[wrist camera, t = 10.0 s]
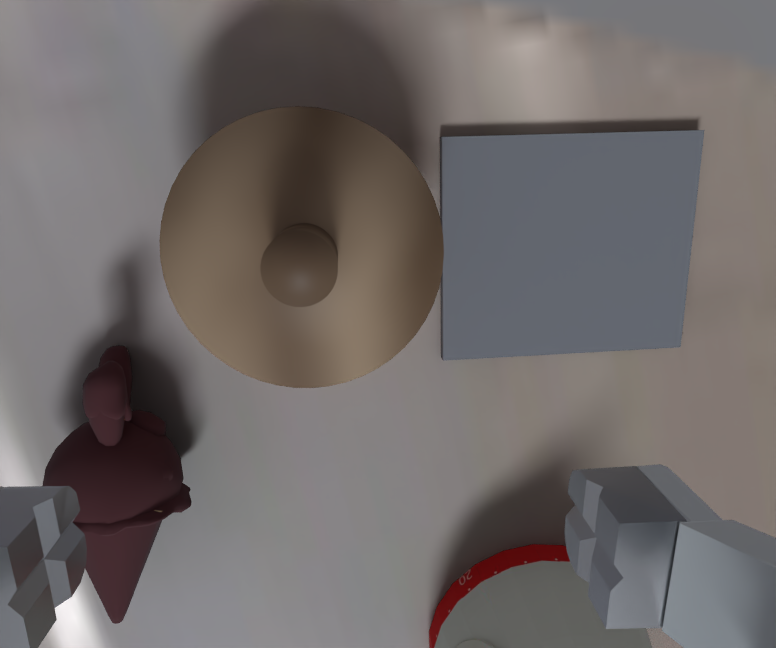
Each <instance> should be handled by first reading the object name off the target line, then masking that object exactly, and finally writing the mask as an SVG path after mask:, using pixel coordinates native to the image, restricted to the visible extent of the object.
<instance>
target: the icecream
mask: <svg viewBox="0 0 776 648" xmlns="http://www.w3.org/2000/svg"><path fill="white" fill-rule="evenodd" d="M131 388H132V370H131V361H130V356H129V353H128V350H127V348H126V347H125V346H112V347H110V348H108V349H107V350H106V351H105V353H104V354H103V355H102V357H101V359H100V363H99V367H98V368H97V369H95V370H94V371H92V372H91V373H89V375H88V377H87V378H86V380H85V382H84V384H83V407H84V411H85V414H86V416H87V417H88V418H89V422H87V423H84V424H83V425H81V426H80V427H78V428H77V429H76V430H74V431H73V432H72V433H71V434H70V435H69V436H68V437H67V438H66V439H65V440H64V441H63V442H62V443H61V444H60V445H59V446H58V447H57V448H56V450H55V451H54V453H53V455H52V457H51V459H50V461H49V463H48V465H47V466H46V469H45V475H44V481H43V486H70V487H71V488H72V489H73V490H75V491H76V493H77V498H78V502H79V506H80V511H79V513H78V515H77V516H76V518H75V519H74V521H73V523H74V524H75V525H76V526H77V527H78V528H79V529H80V530H81V531H82V532H83V533H84V534H85V539H86V545H87V558H86V566H85V569H86V571H87V573H88V575H89V577H90V579H91V581H92V583H93V585H94V587H95V589H96V591H97V593H98V595H99V597H100V599H101V601H102V603H103V605H104V607H105V609H106V612H107V614H108V616H109V617H110V619H111V621H112V623H115V624H116V623H120V622H122V620H123V618H124V616H125V614H126V612H127V609H128V607H129V604H130V602H131V599H132V596H133V594H134V591H135V588H136V586H137V583H138V581H139V578H140V575H141V573H142V570H143V568H144V565H145V563H146V560H147V558H148V555H149V553H150V550H151V547H152V545H153V542H154V540H155V537H156V535H157V532H158V530H159V527H160V524H161V522H162V520H163V519H165V518H166V517H167V516H169V515H170V514H171V513H173V512H183V511H184V510H186V509H187V508H188V507H190V506H191V498H190V495H189V491H190V487H188V486H187V485H185V484H183V483H182V482H183V472H182V465H181V459H180V457H179V455H178V453H177V451H176V449H175V447H174V446H173V444H172V442H171V441H170V440H169V439H168V438H167V437H166V435H165V433H166V422H165V421H163V420H162V419H160V418H159V417H157V416H155V415H154V414H152V413H151V412H146V411H141V410H134V411H132V410H131V407H130V402H131Z"/></svg>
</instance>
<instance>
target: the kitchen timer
mask: <svg viewBox="0 0 776 648" xmlns="http://www.w3.org/2000/svg"><path fill="white" fill-rule="evenodd" d="M588 589H589V583H588V582H587V581H585V580H584V579H582V578H581V577H579V576H578V575H577V574H576V573H575V571H574V569H573V567H572V565H571V562H570V559H569V556H568V553H567V549H566V546H563V545H537V544H532V545H528V546H523V547H519V548H514V549H509V550H505V551H502V552H500V553H498V554H496V555H494V556H492V557H490V558H488V559H485V560H483V561H481V562H479V563H477V564H475V565H474V566H473V567H472V568H471V569H469V570H468V571H467V572H466V573H465V574H464V575H462V576H461V577H460V578H459V579H458V580H456V581H455V582H454V583H453V584H452V586H451V587H450V588H449V590H448V591H447V593H446V594H445V596H444V597H443V599H442V600H441V602H440V603H439V604H438V606H437V608H436V611H435V615H434V618H433V621H432V624H431V627H430V630H429V642H430V648H652V646H651V642H650V639H649V635H648V632H647V629H646V628H628V629H606V628H605V626H604V624H603V622H602V621H601V619H600V617H599V615H598V613H597V611H596V610H595V608H594V606H593V604H592V602H591V601H590V599H589V597H588Z"/></svg>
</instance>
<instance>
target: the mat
mask: <svg viewBox="0 0 776 648" xmlns="http://www.w3.org/2000/svg"><path fill="white" fill-rule="evenodd" d="M703 137H704V130H689V131H651V132H612V133H573V134H535V135H496V136H457V137H441V138H440V219H441V226H442V232H443V244H444V259H443V271H442V276H441V358H442V359H443V360H459V359H477V358H495V357H513V356H531V355H549V354H567V353H585V352H603V351H620V350H638V349H656V348H674V347H680V346H681V337H682V328H683V319H684V310H685V301H686V291H687V282H688V273H689V264H690V255H691V246H692V237H693V228H694V219H695V210H696V201H697V192H698V182H699V173H700V164H701V155H702V146H703Z"/></svg>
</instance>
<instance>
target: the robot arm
mask: <svg viewBox="0 0 776 648" xmlns="http://www.w3.org/2000/svg"><path fill="white" fill-rule="evenodd" d="M568 494H569V495H570V497H571V499H572V500H573V502H574V503H575V506H574V507H573V508H572V509H571V510H570V512H569V513H568V514H567V515H566V518H565V541H566V549H567V553H568V556H569V559H570V562H571V565H572V567H573V569H574V571H575V573H576V574H577V575H578V576H579V577H581V578H582V579H584V580H585V581H587V582H588V583H589V589H588V597H589V599H590V601H591V602H592V604H593V606H594V608H595V610H596V611H597V613H598V615H599V617H600V619H601V621H602V622H603V624H604V626H605V628H606V629H628V628H662V631H663V632H665V633H666V634H667V635H668V636H670V637H671V638H672V639H674V640H675V641H676V642H677V643H679V644H680V645H681V646H682V647H684V648H776V538H774V537H772V536H770V535H767V534H765V533H763V532H760V531H758V530H755V529H753V528H751V527H748V526H746V525H744V524H741V523H739V522H737V521H734V520H722V519H721V518H720V517H719V516H718V515H717V514H716V513H715V512H714V511H713V510H712V509H711V508H710V507H709V506H708V505H707V504H706V503H705V502H704V501H703V500H702V499H700V498H699V497H698V496H697V495H696V494H695V493H694V492H693V491H692V490H691V489H690V488H689V487H688V486H687V485H686V484H685V483H684V482H683V481H682V480H681V479H680V478H679V477H678V476H677V475H676V474H674V473H673V472H672V471H671V470H670V469H669V468H668V467H666V466H663V465H660V464H659V465H646V466H632V467H615V468H598V469H581V470H573V471H572V473H571V476H570V479H569V487H568ZM79 511H80V506H79V502H78V498H77V493H76V491H75V490H73V489H72V488H71V487H70V486H33V487H0V648H38V647H39V645H40V644H41V642H42V641H43V639H44V638H45V636H46V635H47V633H48V632H49V630H50V629H51V627H52V626H53V624H54V623H55V621H56V620H57V619H56V614H55V609H54V608H55V607H57V606H58V605H60V604H61V603H63V602H64V601H66V600H67V599H69V598H70V597H72V595H73V594H74V592H75V590H76V589H77V587H78V586H79V584H80V582H81V579H82V576H83V573H84V569H85V566H86V558H87V545H86V539H85V534H84V533H83V532H82V531H81V530H80V529H79V528H78V527H77V526H76V525H75V524H74V523H73V521H74V519H75V518H76V516H77V515H78V513H79Z"/></svg>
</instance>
